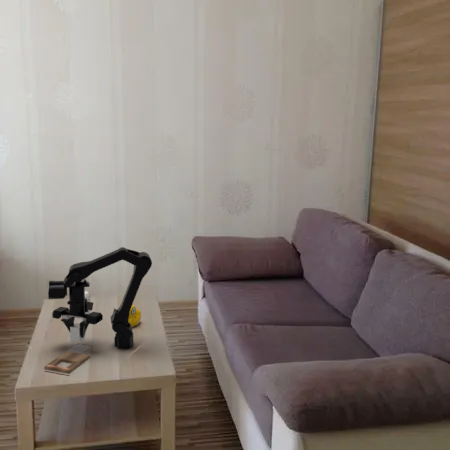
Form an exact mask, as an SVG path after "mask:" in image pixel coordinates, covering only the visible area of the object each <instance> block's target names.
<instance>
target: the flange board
mask: <svg viewBox="0 0 450 450" xmlns="http://www.w3.org/2000/svg"><path fill="white" fill-rule="evenodd" d="M90 358H91V355H90V354H87V353H86V354H85V353H75V352H70V351H68V350H66V351H64V352H63V353H62V354H60V355H59V356H57V357H56V358H54V359H53V360H51V361H50V362H48V363H46V365H44V367H43V368H44V373H51V374H56V375H62V376H67V377H70V376H71V375H69V374H71V373H72V372H73V371H75V370H76V369H77V368H78V367H80V366H81V365H83V364H84V363H85V362H86V361H88V360H89V359H90ZM60 363H66V364H69V365H68V366H67V367H64V366H59V364H60Z"/></svg>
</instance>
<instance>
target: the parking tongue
mask: <svg viewBox="0 0 450 450" xmlns="http://www.w3.org/2000/svg"><path fill="white" fill-rule="evenodd" d="M91 347H92V346H90V345H85V344H80V343H76V344H75V345H74V346H72V347H71V348H69V349H68V350H67V351H70V352H75V353H81V354H84V352H85V351H87V350H88V349H90V348H91Z"/></svg>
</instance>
